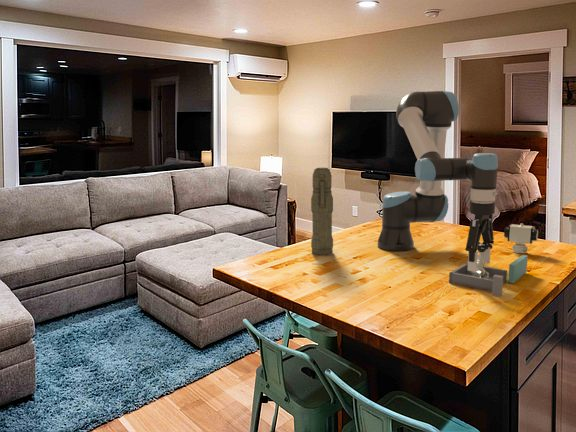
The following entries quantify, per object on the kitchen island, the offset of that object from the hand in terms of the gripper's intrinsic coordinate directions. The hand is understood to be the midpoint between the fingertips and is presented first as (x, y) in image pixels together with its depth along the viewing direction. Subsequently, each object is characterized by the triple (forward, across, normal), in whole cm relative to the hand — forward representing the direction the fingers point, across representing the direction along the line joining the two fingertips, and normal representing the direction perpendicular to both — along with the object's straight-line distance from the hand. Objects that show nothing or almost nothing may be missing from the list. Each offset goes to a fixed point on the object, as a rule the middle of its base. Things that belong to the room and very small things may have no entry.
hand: (478, 266), depth 161 cm
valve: (+4, 0, 0) cm, 4 cm away
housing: (+5, -1, -2) cm, 6 cm away
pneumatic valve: (+5, +47, 0) cm, 47 cm away
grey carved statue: (+5, -2, +63) cm, 63 cm away
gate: (+5, +12, -9) cm, 16 cm away
